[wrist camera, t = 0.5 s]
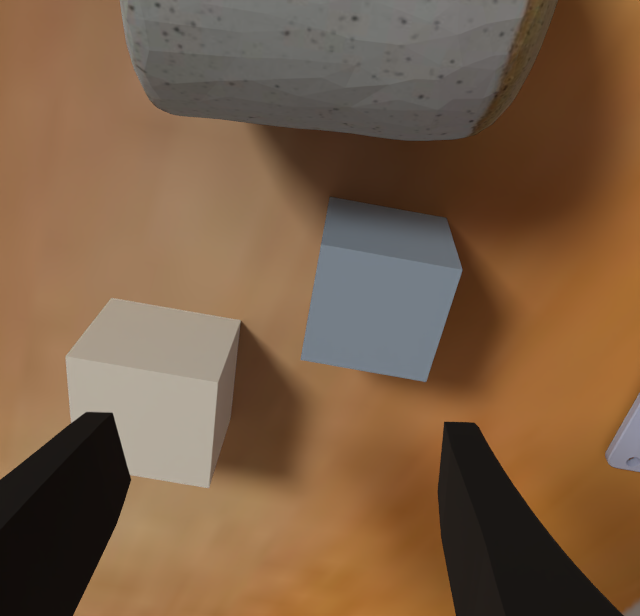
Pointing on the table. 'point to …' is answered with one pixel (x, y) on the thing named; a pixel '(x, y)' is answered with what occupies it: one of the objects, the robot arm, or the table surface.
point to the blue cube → (381, 290)
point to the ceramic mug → (338, 61)
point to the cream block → (158, 385)
